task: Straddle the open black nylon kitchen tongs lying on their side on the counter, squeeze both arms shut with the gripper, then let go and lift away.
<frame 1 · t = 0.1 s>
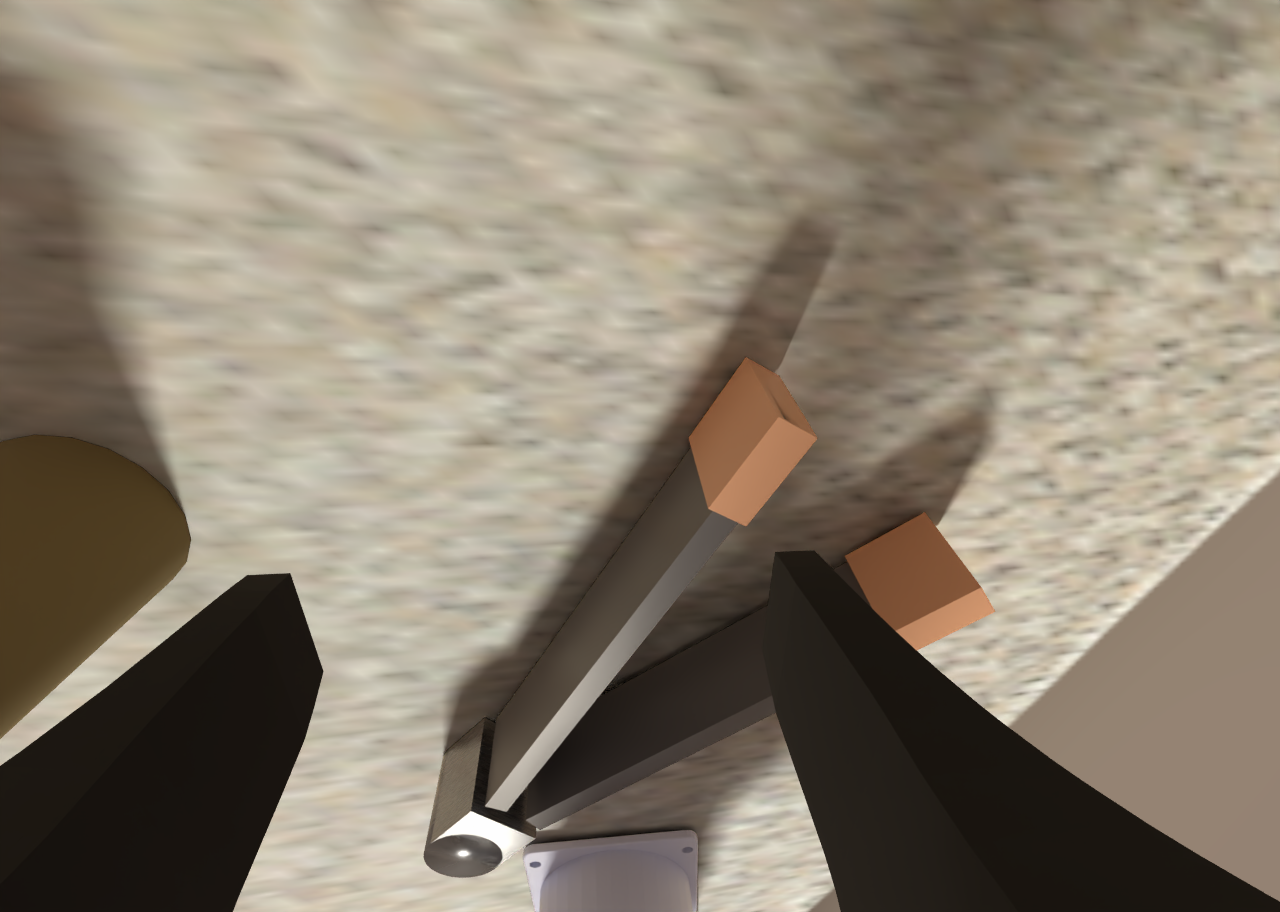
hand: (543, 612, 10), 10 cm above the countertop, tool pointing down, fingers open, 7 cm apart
cork: (86, 517, 21), on the countertop
tongs arm 1: (728, 678, 23), point 2 cm above the countertop, hinge at 12.0°
tongs arm 2: (617, 608, 21), point 2 cm above the countertop, hinge at 12.0°
tongs hub: (522, 724, 27), on the countertop
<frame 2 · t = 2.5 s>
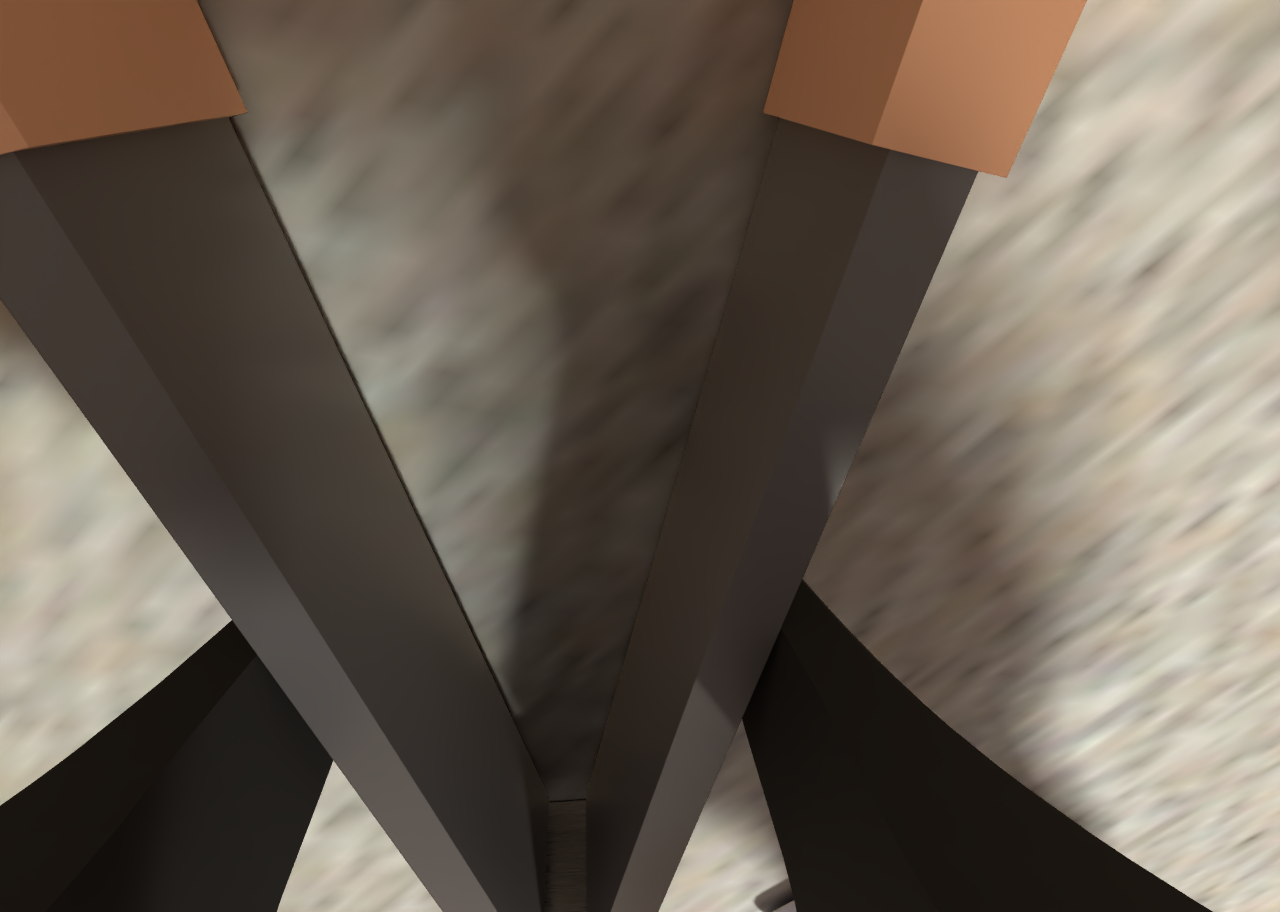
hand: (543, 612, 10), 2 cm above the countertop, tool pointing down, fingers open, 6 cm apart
tongs arm 1: (716, 551, 10), point 2 cm above the countertop, hinge at 12.0°, touching gripper
tongs arm 2: (348, 567, 9), point 2 cm above the countertop, hinge at 12.0°, touching gripper
tongs hub: (568, 785, 15), on the countertop
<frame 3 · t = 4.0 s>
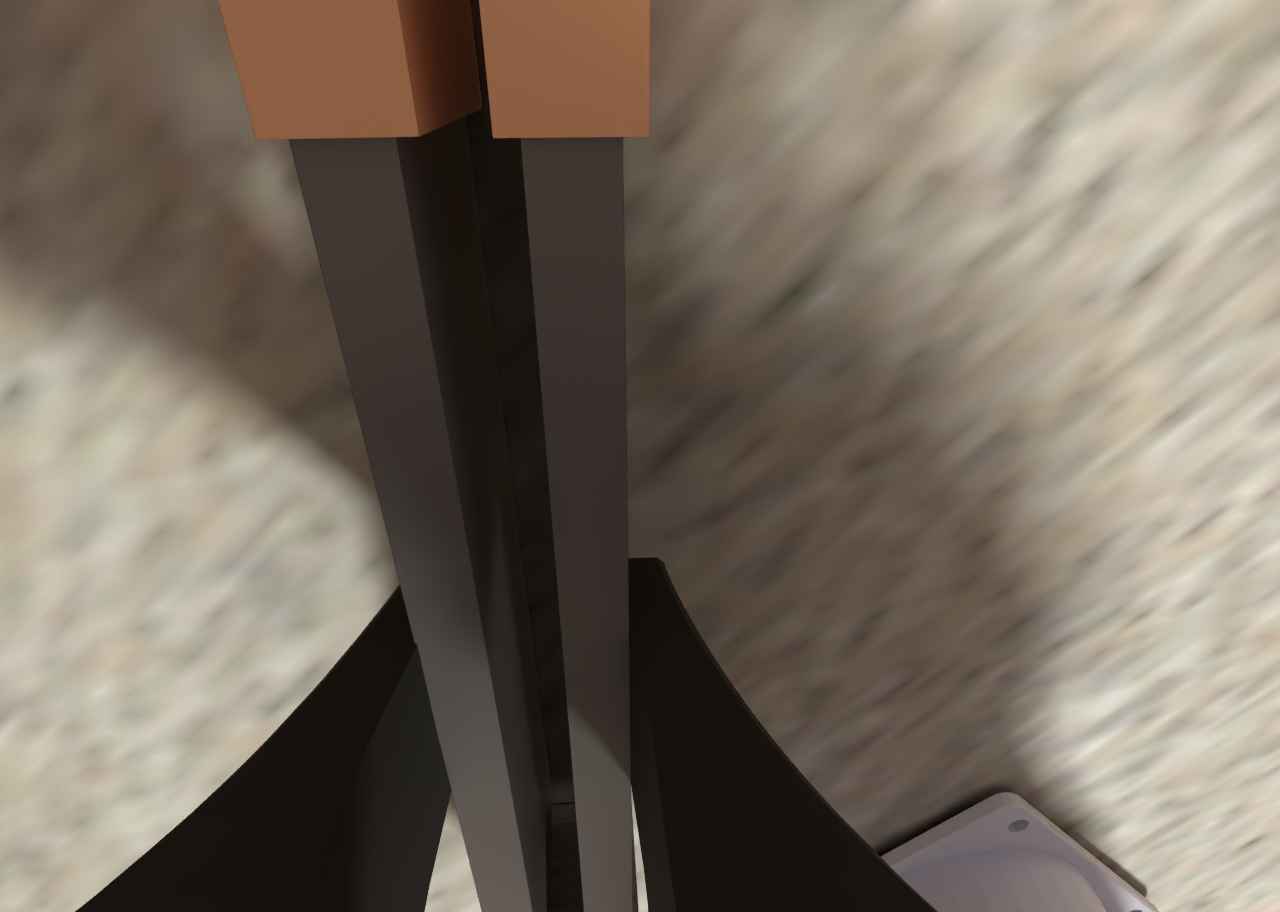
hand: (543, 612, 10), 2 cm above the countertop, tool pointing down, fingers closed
tongs arm 1: (593, 551, 10), point 2 cm above the countertop, hinge at -0.3°, touching gripper
tongs arm 2: (472, 556, 9), point 2 cm above the countertop, hinge at 0.9°, touching gripper
tongs hub: (570, 788, 16), on the countertop
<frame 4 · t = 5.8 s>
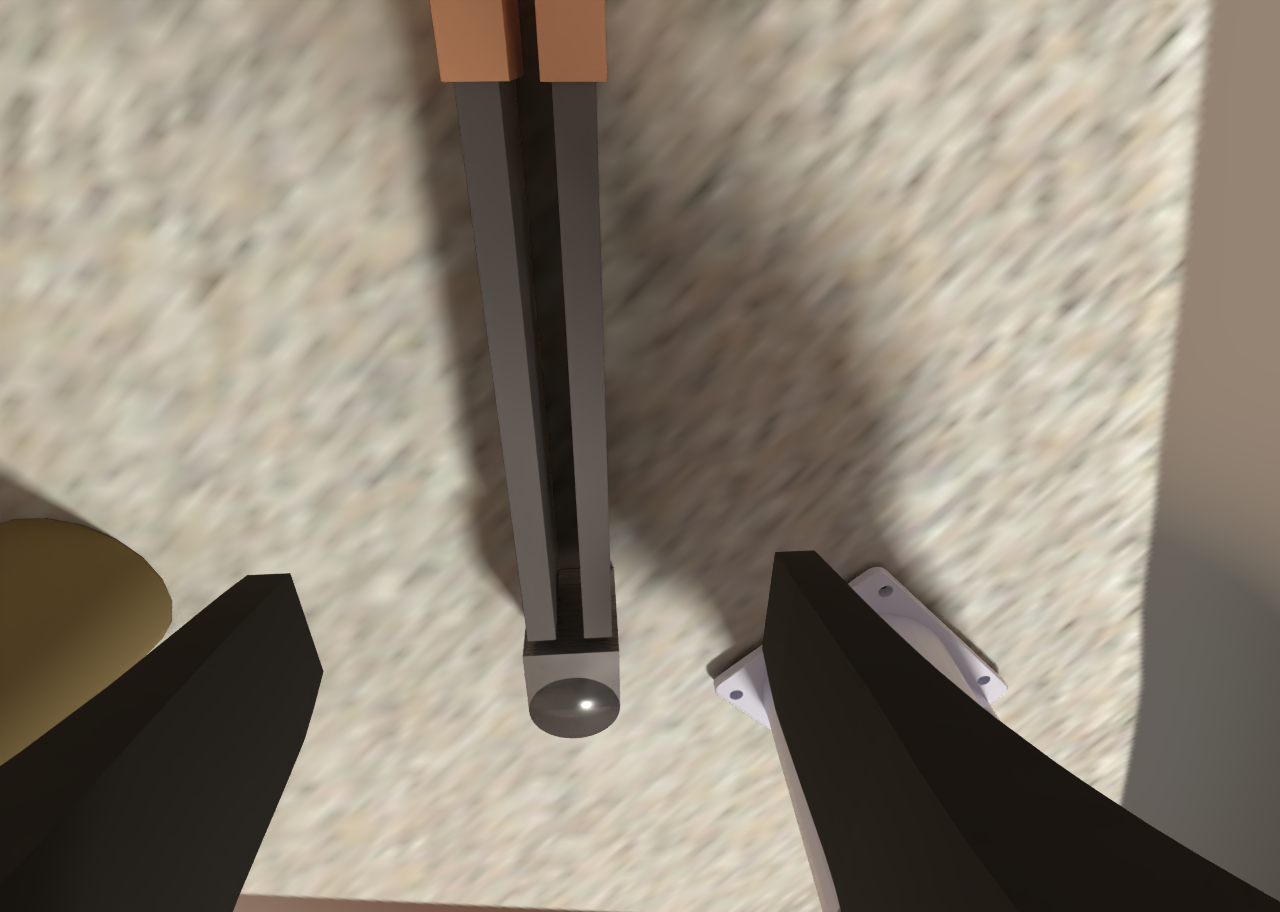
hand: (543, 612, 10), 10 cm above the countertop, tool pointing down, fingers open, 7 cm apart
cork: (74, 589, 22), on the countertop
tongs arm 1: (585, 335, 17), point 2 cm above the countertop, hinge at -0.3°
tongs arm 2: (516, 336, 16), point 2 cm above the countertop, hinge at 0.9°
tongs hub: (571, 555, 23), on the countertop
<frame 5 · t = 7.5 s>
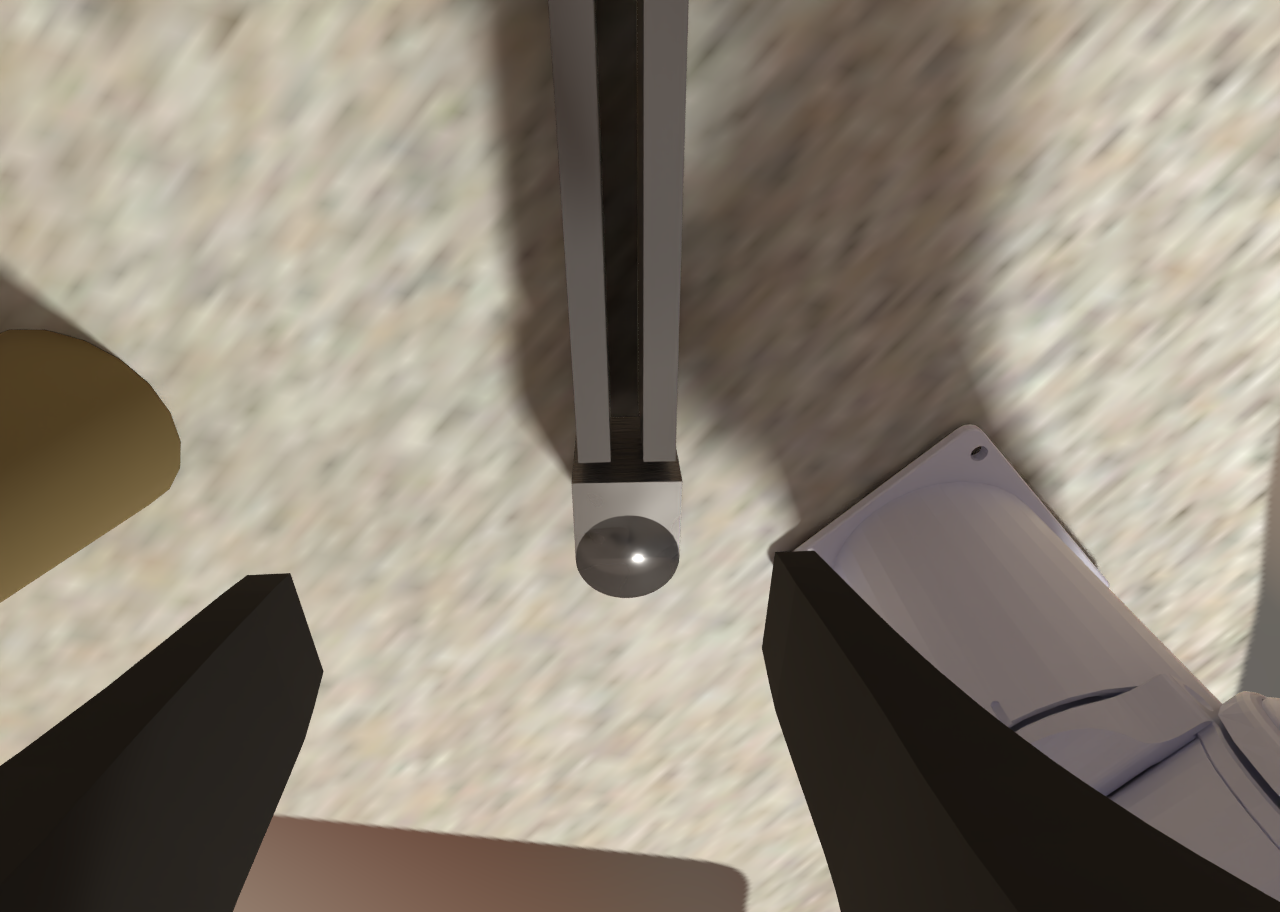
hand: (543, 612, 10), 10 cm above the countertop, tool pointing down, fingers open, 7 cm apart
cork: (75, 424, 20), on the countertop
tongs arm 1: (659, 67, 14), point 2 cm above the countertop, hinge at -0.3°
tongs arm 2: (577, 67, 14), point 2 cm above the countertop, hinge at 0.9°
tongs hub: (623, 398, 20), on the countertop
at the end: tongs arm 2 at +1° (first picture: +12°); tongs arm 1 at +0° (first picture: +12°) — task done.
